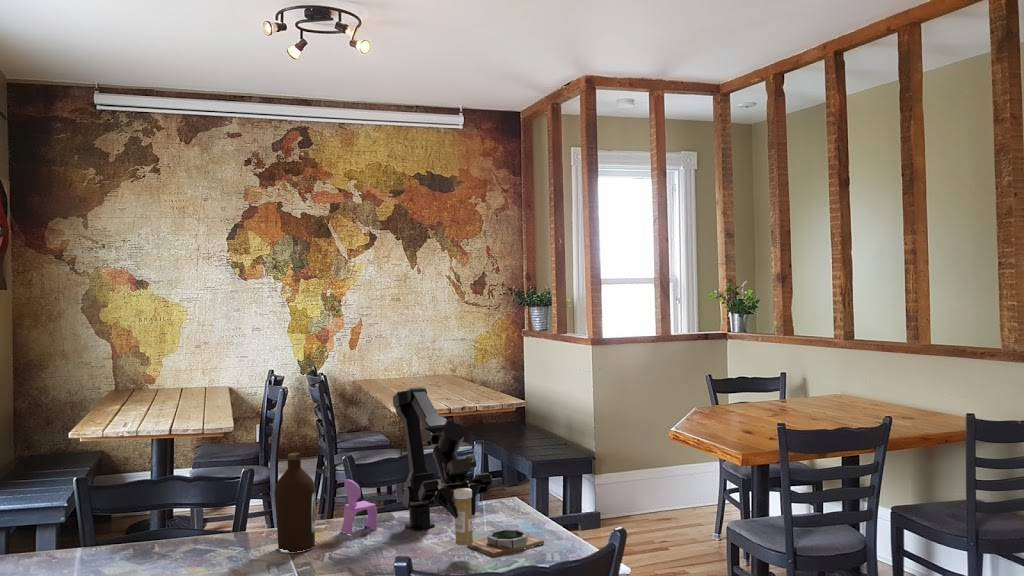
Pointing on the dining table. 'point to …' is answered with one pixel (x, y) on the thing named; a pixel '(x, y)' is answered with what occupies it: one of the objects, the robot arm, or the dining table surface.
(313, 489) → the olive oil
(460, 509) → the sprinkles bottle
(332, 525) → the dining table surface
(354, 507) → the toy chair
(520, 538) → the ring
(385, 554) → the dining table surface
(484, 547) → the wooden base board
